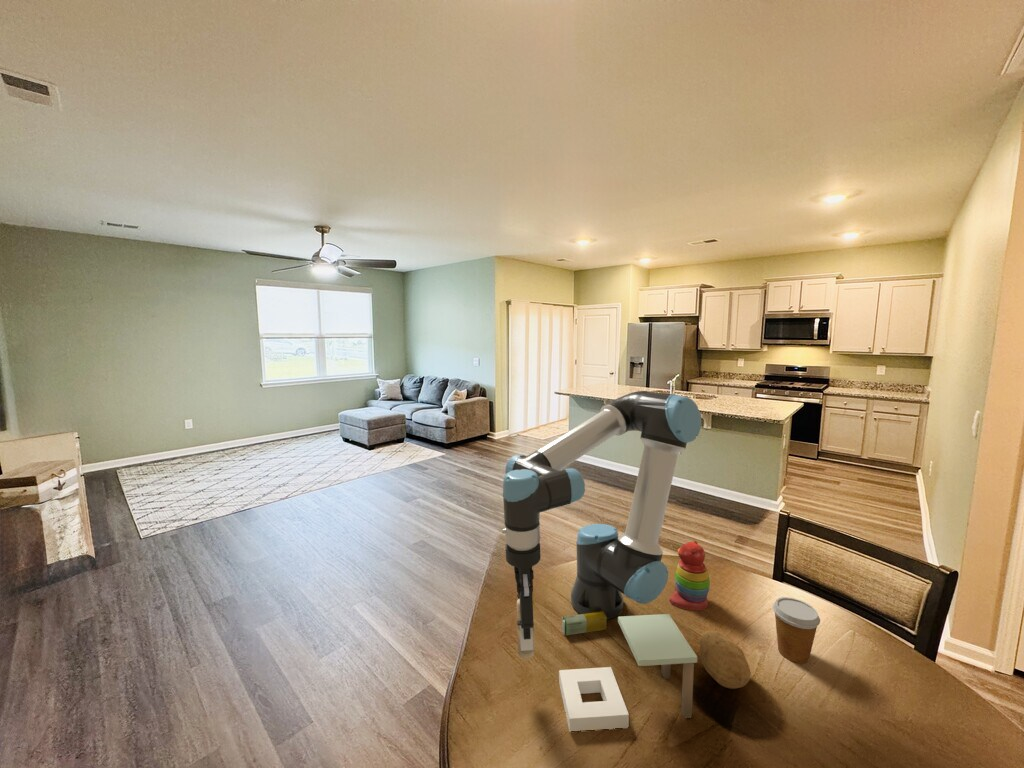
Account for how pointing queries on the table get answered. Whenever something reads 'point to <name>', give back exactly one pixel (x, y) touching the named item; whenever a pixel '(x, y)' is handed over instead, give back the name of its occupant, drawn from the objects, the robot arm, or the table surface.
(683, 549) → the stacking bear
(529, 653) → the peg
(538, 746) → the table surface
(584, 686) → the socket block
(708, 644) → the potato
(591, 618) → the medication box
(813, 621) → the disposable coffee cup
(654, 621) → the mint green toy table
